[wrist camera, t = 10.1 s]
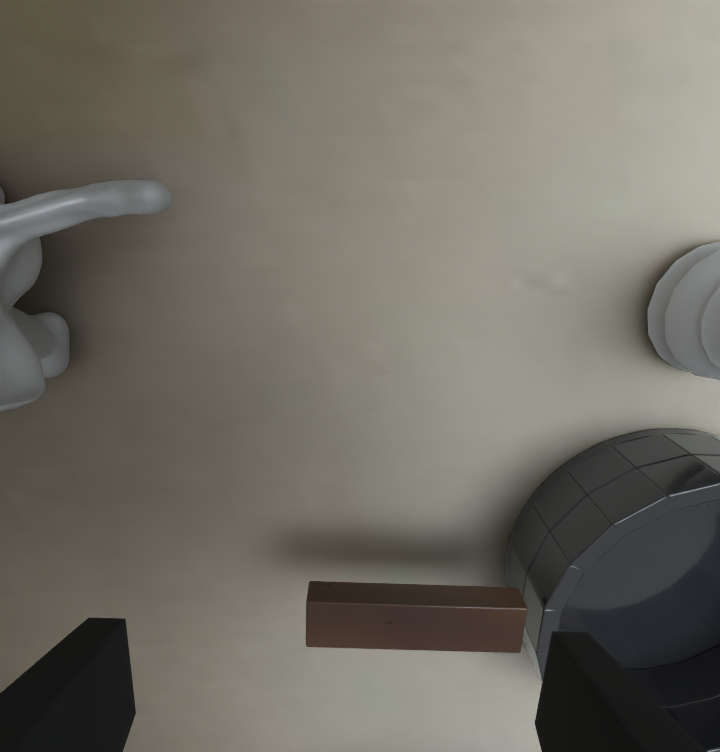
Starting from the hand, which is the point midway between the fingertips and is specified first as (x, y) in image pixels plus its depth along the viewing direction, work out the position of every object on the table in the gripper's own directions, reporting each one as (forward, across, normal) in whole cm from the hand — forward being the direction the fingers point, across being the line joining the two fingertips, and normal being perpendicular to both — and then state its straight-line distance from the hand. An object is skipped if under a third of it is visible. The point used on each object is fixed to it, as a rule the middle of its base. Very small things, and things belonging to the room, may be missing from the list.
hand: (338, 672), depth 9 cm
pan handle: (+7, -2, +5) cm, 9 cm away
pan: (+10, -12, +5) cm, 17 cm away
